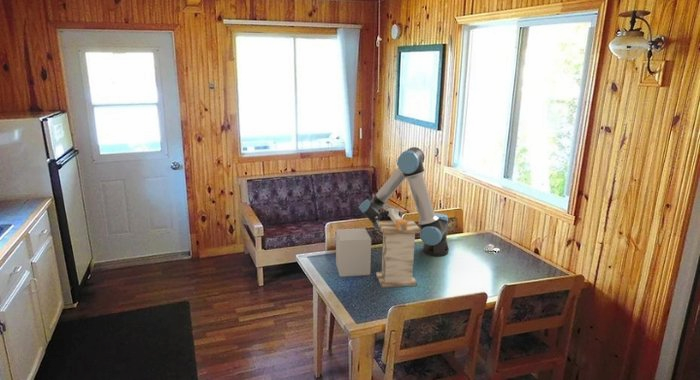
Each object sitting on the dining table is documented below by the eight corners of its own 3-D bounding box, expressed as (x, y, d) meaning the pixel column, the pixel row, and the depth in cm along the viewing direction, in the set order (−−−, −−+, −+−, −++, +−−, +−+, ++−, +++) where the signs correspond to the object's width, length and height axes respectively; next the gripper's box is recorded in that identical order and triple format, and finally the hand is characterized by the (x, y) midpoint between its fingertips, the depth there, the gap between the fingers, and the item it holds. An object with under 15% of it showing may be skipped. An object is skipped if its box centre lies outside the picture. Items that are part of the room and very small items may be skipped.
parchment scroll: (375, 274, 236) (377, 221, 228) (409, 272, 239) (412, 219, 231) (382, 287, 223) (384, 230, 215) (417, 285, 226) (420, 229, 217)
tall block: (364, 261, 251) (365, 228, 246) (370, 274, 236) (371, 239, 231) (335, 263, 249) (336, 229, 243) (339, 276, 233) (340, 240, 228)
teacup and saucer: (500, 251, 270) (501, 244, 269) (496, 255, 264) (497, 249, 263) (485, 247, 275) (486, 241, 274) (481, 252, 268) (482, 245, 267)
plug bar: (386, 213, 238) (386, 206, 237) (394, 213, 239) (394, 206, 238) (398, 230, 216) (398, 222, 215) (407, 229, 216) (407, 221, 215)
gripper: (398, 225, 253) (410, 217, 230) (370, 226, 250) (379, 218, 228) (397, 212, 254) (409, 203, 232) (369, 213, 252) (378, 204, 229)
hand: (394, 211), depth 230 cm, fingers closed on plug bar, 3 cm apart
